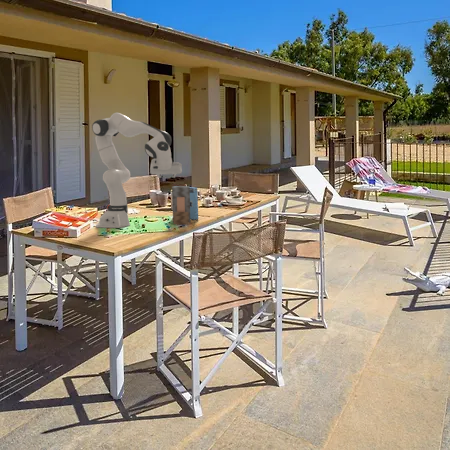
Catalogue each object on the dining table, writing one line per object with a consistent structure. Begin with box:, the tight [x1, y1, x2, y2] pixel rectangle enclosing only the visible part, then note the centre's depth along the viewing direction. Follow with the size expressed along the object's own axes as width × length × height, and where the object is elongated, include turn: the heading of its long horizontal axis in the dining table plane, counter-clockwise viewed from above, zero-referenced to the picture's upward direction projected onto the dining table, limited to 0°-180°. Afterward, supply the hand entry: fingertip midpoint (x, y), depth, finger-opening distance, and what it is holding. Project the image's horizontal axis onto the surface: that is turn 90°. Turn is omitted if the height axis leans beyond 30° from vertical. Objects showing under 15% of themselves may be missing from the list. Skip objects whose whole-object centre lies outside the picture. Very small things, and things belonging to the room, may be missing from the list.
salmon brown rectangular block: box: [177, 197, 185, 212], centre depth 346 cm, size 5×4×12 cm
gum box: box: [174, 185, 199, 220], centre depth 366 cm, size 20×5×23 cm, turn 56°
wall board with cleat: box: [171, 186, 191, 226], centre depth 345 cm, size 12×9×25 cm
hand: (166, 177), depth 328 cm, fingers open, 8 cm apart
